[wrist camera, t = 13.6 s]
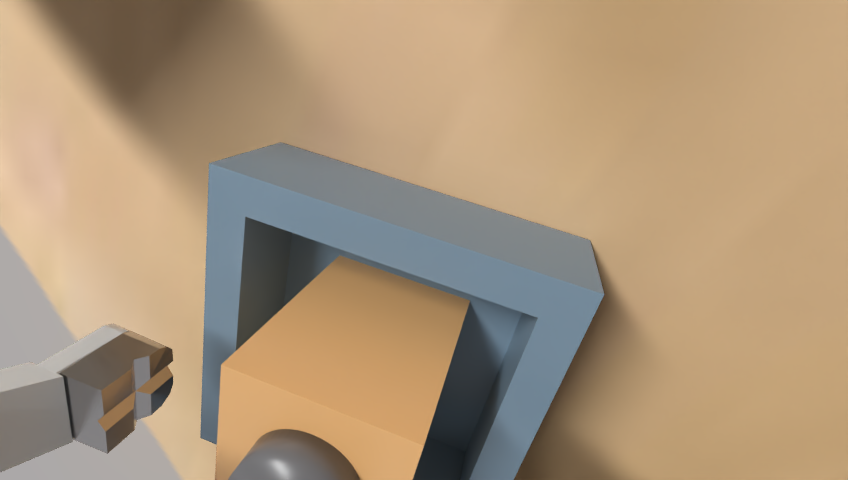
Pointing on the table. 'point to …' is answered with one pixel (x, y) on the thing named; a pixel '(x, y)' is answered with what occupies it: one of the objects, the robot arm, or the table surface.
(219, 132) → the table surface
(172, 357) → the robot arm
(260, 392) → the block with round knob
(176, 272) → the table surface
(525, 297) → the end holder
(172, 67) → the table surface
